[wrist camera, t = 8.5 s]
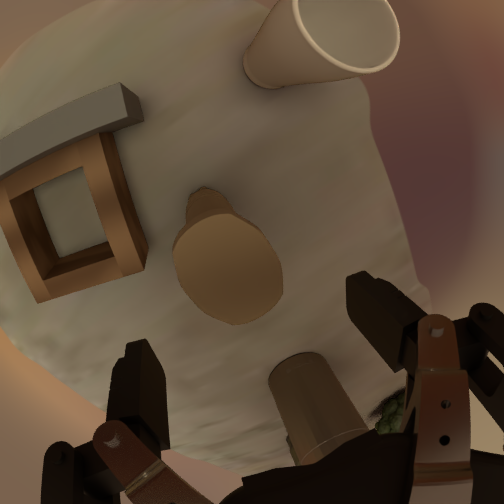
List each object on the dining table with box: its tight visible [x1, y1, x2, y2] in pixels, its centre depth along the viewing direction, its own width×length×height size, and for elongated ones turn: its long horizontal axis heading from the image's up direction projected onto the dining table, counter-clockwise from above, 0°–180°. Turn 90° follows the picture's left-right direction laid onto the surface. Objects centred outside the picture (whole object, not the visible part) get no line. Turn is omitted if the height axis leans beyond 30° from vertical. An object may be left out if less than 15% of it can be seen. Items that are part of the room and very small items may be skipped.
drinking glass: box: [243, 0, 400, 89], centre depth 17 cm, size 7×7×15 cm
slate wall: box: [0, 82, 144, 181], centre depth 18 cm, size 2×17×9 cm, turn 102°
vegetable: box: [375, 392, 405, 435], centre depth 51 cm, size 12×13×15 cm
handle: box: [173, 187, 283, 325], centre depth 21 cm, size 5×6×15 cm
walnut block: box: [0, 132, 149, 304], centre depth 23 cm, size 12×12×5 cm
